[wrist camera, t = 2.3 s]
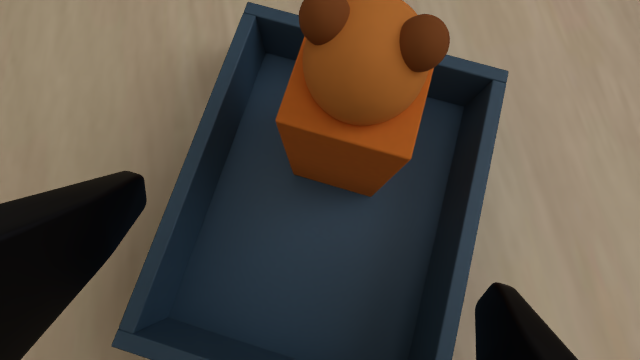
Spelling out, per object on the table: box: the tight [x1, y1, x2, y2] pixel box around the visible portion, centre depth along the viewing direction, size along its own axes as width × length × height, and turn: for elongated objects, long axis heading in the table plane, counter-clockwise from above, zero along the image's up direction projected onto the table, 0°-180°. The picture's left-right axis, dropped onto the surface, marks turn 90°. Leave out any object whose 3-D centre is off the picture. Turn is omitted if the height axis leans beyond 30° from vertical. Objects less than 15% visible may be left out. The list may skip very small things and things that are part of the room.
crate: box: [112, 2, 508, 360], centre depth 19 cm, size 20×16×4 cm
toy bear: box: [275, 0, 450, 197], centre depth 15 cm, size 5×5×12 cm
